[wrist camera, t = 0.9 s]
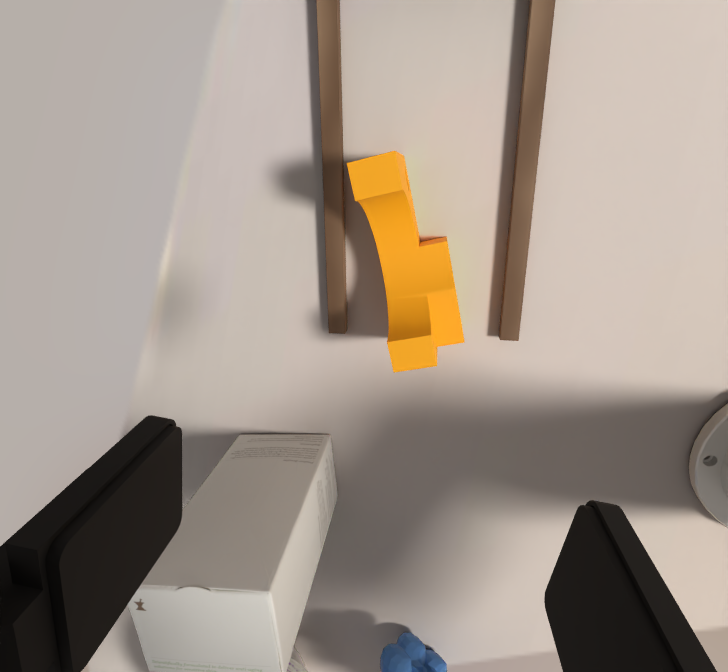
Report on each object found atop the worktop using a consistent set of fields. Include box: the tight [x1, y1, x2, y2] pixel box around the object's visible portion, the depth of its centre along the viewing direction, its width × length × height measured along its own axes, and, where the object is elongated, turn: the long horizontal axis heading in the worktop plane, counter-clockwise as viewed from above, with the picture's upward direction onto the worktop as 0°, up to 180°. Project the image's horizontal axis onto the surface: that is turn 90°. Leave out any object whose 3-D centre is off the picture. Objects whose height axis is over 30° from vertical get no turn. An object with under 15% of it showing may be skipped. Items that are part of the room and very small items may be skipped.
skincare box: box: [128, 434, 338, 672], centre depth 31 cm, size 8×7×16 cm
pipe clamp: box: [347, 151, 464, 372], centre depth 28 cm, size 12×4×6 cm, turn 13°
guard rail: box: [316, 0, 555, 341], centre depth 27 cm, size 14×24×4 cm, turn 1°
